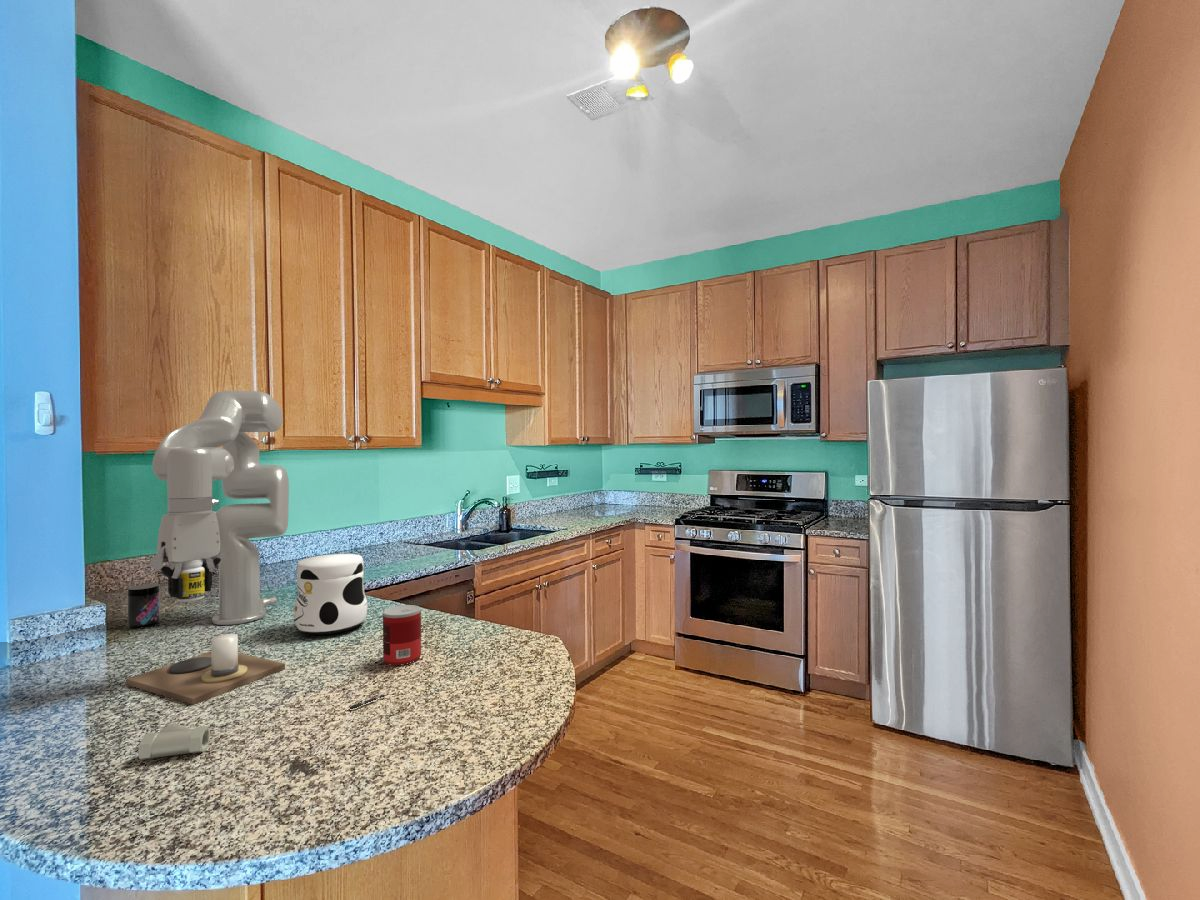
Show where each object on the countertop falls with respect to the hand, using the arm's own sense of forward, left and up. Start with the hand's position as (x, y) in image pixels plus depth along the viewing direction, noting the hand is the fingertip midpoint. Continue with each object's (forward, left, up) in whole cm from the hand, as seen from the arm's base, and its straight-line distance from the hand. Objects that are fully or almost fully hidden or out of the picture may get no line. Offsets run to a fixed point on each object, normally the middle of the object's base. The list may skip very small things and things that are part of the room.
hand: (190, 592), depth 115 cm
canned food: (-23, +35, -17) cm, 45 cm away
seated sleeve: (0, +11, -15) cm, 18 cm away
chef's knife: (-10, +48, -17) cm, 52 cm away
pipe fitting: (+18, +30, -17) cm, 40 cm away
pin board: (0, +5, -17) cm, 18 cm away
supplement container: (-14, -47, -17) cm, 52 cm away
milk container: (-32, +2, -17) cm, 36 cm away
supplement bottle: (0, 0, -2) cm, 2 cm away
